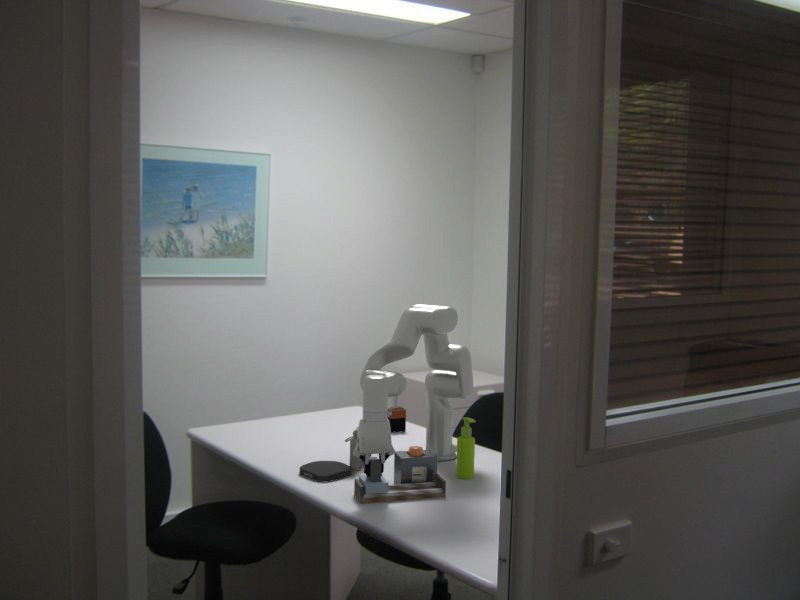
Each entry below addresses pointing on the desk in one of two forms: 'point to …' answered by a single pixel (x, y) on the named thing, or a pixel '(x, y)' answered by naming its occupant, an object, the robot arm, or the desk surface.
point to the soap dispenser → (465, 451)
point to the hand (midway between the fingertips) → (373, 474)
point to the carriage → (374, 478)
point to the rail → (403, 491)
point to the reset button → (415, 451)
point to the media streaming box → (325, 470)
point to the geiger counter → (354, 461)
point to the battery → (397, 419)
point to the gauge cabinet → (414, 467)
